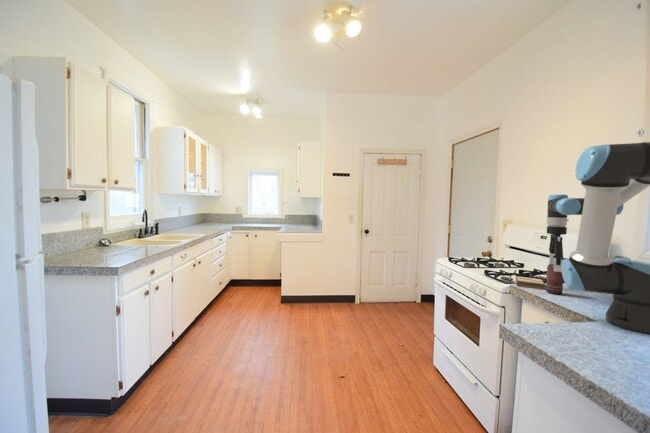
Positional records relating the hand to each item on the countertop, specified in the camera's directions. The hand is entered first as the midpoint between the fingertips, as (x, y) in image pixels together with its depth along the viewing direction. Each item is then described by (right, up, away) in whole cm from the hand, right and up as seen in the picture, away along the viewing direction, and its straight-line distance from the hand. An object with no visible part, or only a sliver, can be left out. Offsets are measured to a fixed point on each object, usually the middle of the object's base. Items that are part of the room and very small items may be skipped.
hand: (554, 268), depth 137 cm
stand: (-2, -12, +14) cm, 18 cm away
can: (0, -12, 0) cm, 12 cm away
